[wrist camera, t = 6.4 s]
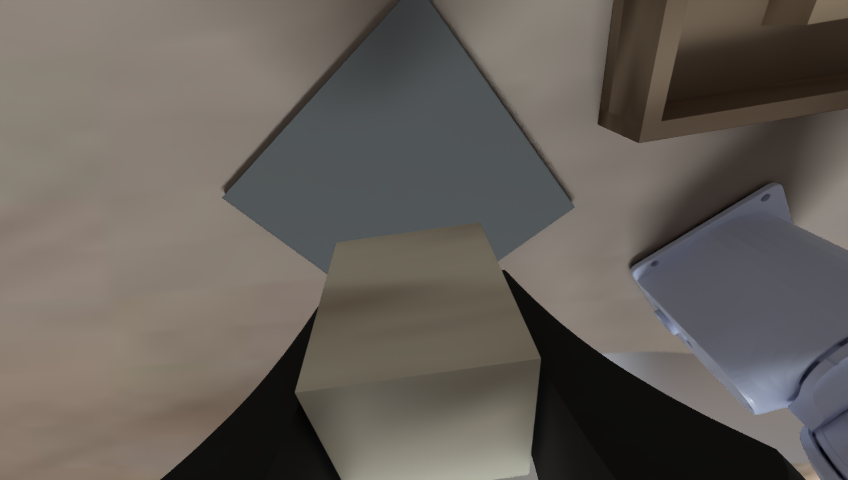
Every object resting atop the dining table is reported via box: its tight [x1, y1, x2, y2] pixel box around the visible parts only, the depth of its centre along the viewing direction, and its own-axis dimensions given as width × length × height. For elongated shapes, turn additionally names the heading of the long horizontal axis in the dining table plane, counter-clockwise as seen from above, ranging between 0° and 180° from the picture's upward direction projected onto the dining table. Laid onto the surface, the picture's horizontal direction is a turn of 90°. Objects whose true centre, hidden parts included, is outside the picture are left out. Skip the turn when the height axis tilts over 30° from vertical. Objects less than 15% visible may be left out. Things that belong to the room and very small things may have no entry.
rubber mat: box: [222, 0, 574, 274], centre depth 19 cm, size 14×14×1 cm
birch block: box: [295, 223, 541, 480], centre depth 9 cm, size 4×4×5 cm
